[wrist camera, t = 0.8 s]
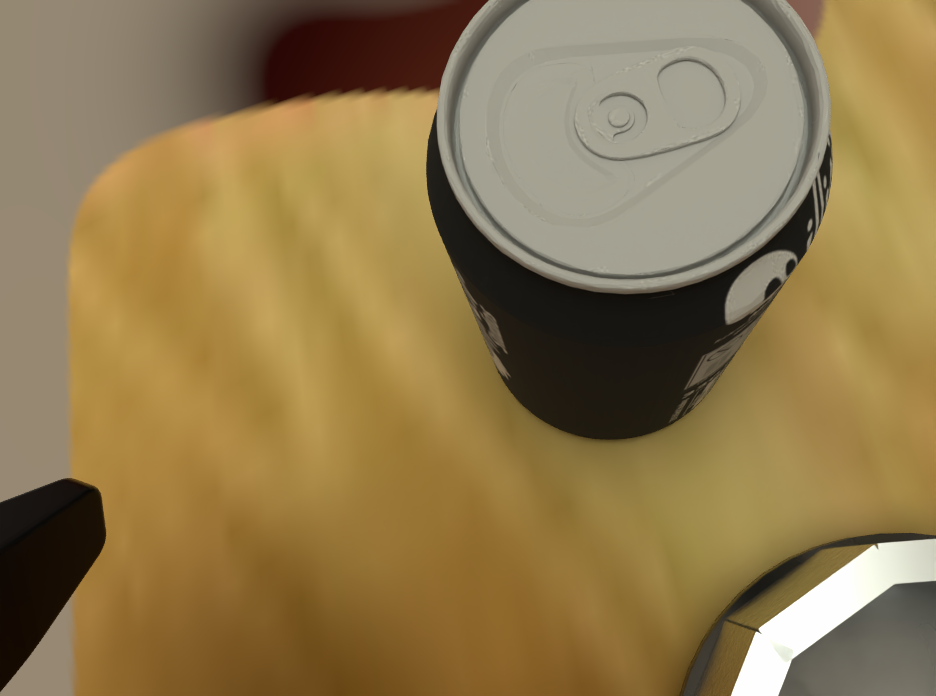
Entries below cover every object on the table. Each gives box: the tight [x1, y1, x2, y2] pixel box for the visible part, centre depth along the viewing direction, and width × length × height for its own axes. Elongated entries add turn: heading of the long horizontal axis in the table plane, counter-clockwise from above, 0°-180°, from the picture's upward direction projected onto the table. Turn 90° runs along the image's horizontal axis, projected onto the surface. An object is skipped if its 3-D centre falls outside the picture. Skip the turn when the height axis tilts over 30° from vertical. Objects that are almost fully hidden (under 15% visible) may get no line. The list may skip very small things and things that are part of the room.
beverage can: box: [426, 0, 833, 439], centre depth 18 cm, size 7×7×12 cm
